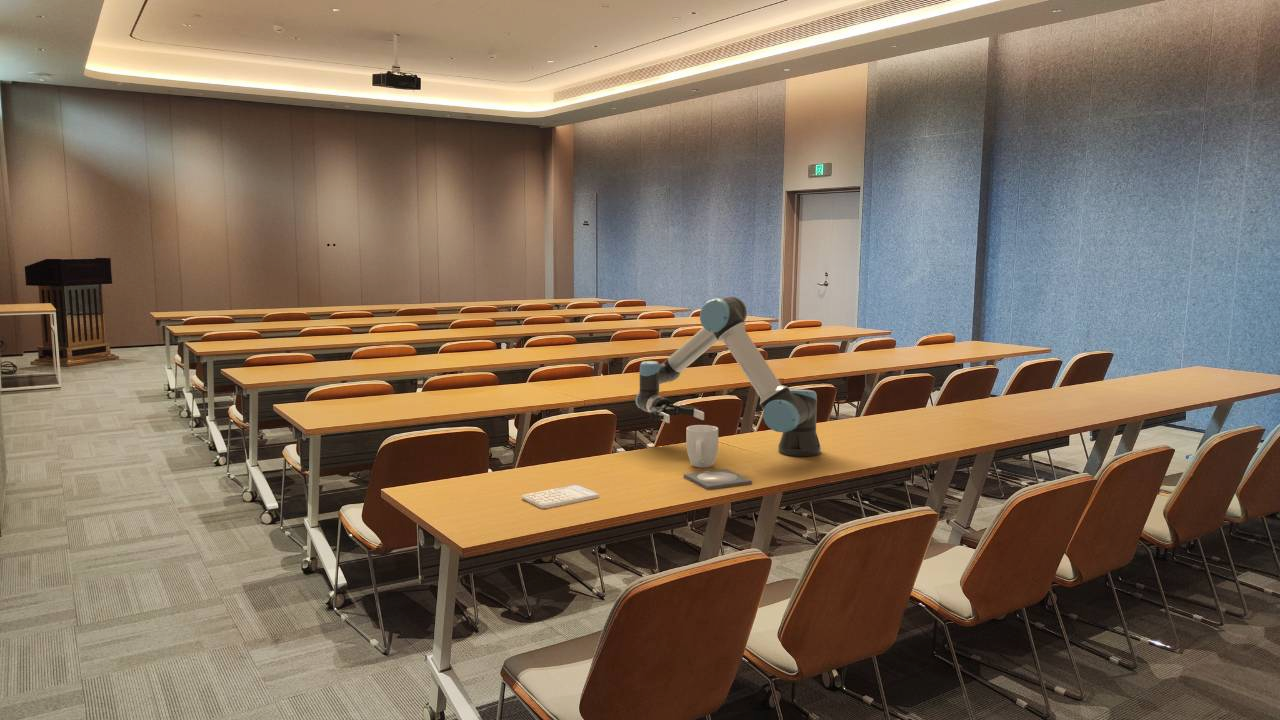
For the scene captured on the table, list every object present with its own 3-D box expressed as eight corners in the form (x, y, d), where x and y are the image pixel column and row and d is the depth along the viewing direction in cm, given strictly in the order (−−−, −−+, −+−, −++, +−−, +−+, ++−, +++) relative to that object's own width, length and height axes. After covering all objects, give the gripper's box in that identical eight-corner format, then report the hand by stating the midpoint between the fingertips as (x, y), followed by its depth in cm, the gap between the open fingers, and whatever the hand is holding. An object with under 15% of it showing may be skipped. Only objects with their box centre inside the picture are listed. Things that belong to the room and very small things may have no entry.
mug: (714, 473, 285) (715, 434, 284) (682, 471, 288) (682, 433, 286) (719, 462, 300) (720, 425, 298) (688, 460, 302) (688, 424, 300)
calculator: (520, 500, 258) (520, 494, 258) (576, 488, 270) (576, 483, 269) (542, 511, 247) (542, 504, 247) (600, 498, 259) (600, 492, 259)
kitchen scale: (726, 471, 287) (726, 468, 287) (751, 483, 273) (751, 479, 273) (683, 477, 281) (683, 473, 281) (707, 489, 266) (707, 485, 266)
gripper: (689, 414, 327) (716, 425, 308) (629, 419, 317) (653, 431, 298) (689, 394, 326) (717, 404, 307) (629, 399, 316) (654, 409, 297)
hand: (686, 417), depth 303 cm, fingers open, 13 cm apart
